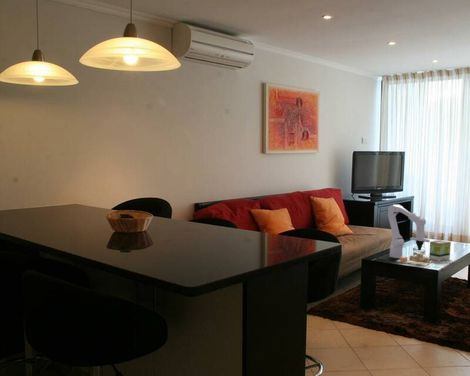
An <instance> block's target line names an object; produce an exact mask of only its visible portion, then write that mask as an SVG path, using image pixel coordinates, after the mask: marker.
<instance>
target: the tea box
mask: <svg viewBox="0 0 470 376" xmlns="http://www.w3.org/2000/svg"><path fill="white" fill-rule="evenodd" d="M428 256H429V257H428V258H430V260H432V261H438V262H441V261H446V260H450V259H451V241H447V240H441V239H439V240H433V241H430V242H429V255H428Z"/></svg>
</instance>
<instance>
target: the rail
mask: <svg viewBox="0 0 470 376" xmlns="http://www.w3.org/2000/svg"><path fill="white" fill-rule="evenodd" d="M396 261H397V263H402V264H408V265H415V266H420V267H427V266H429V265H430V263H423V262H417V261H410V260H408V259H407V261H400V259H398V260H396Z"/></svg>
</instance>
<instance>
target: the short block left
mask: <svg viewBox="0 0 470 376" xmlns="http://www.w3.org/2000/svg"><path fill="white" fill-rule="evenodd" d="M409 260H410V261H416V254H415V255H414V254H411V255H409Z"/></svg>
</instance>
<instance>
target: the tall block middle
mask: <svg viewBox="0 0 470 376" xmlns="http://www.w3.org/2000/svg"><path fill="white" fill-rule="evenodd" d="M415 256H416V261H417V262H423V258H424V253H421V252H417V253H416V254H415Z"/></svg>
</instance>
